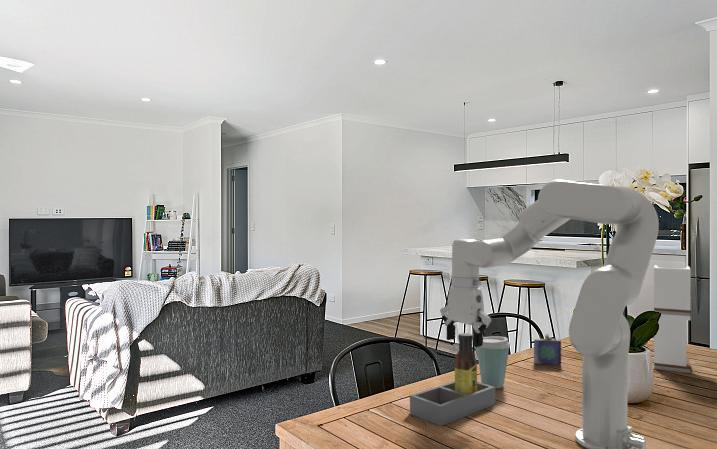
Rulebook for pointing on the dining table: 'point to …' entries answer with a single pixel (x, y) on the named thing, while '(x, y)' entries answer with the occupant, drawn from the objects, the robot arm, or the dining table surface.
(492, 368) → the disposable coffee cup
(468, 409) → the dock
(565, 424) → the dining table surface
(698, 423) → the dining table surface
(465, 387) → the sauce bottle
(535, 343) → the flask
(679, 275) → the white square tower
